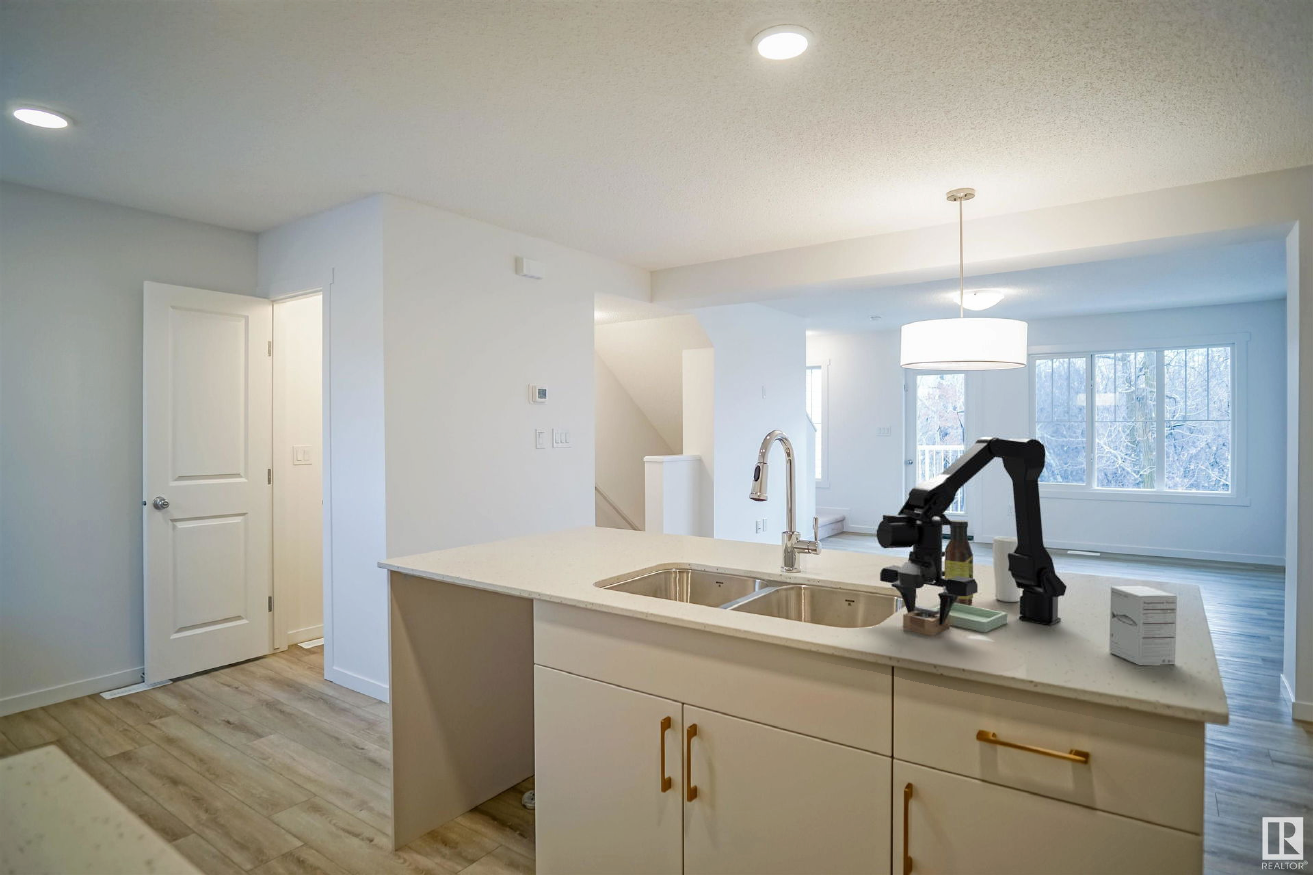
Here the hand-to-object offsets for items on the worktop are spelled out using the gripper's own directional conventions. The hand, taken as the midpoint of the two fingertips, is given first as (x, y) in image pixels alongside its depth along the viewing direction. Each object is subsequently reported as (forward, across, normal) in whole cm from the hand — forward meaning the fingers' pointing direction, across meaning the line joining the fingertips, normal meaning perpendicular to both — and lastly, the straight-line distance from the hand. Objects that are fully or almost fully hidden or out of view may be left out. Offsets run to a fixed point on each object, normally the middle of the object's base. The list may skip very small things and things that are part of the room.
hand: (926, 621), depth 145 cm
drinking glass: (+2, +1, +38) cm, 38 cm away
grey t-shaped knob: (+2, 0, 0) cm, 2 cm away
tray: (+2, +3, +12) cm, 12 cm away
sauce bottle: (+2, -5, +25) cm, 26 cm away
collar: (+2, 0, 0) cm, 2 cm away
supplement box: (+2, +35, +12) cm, 37 cm away
